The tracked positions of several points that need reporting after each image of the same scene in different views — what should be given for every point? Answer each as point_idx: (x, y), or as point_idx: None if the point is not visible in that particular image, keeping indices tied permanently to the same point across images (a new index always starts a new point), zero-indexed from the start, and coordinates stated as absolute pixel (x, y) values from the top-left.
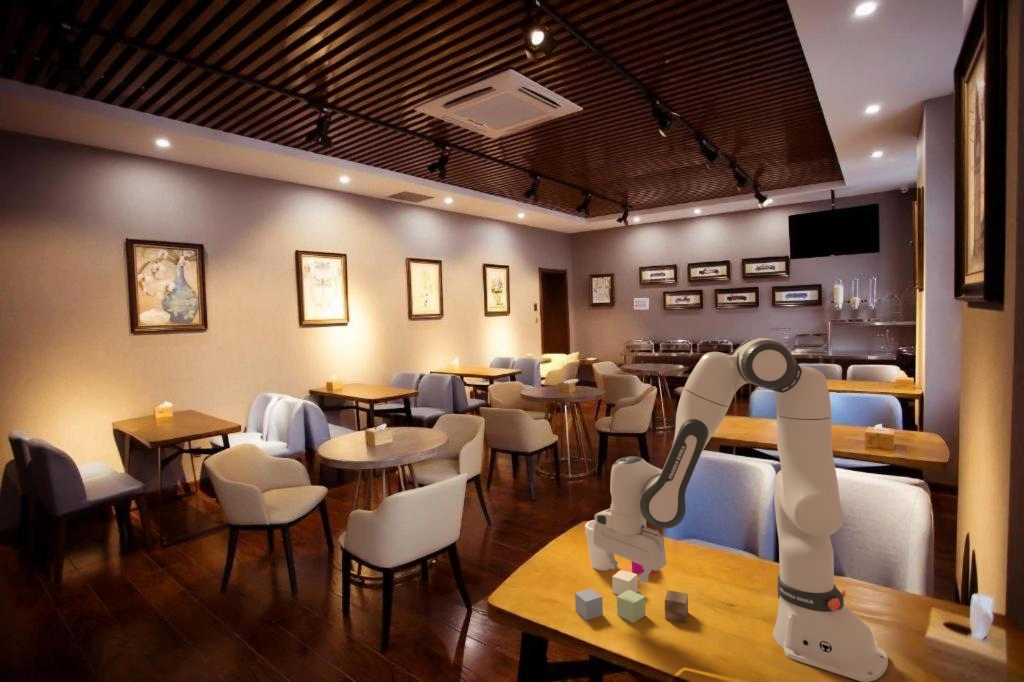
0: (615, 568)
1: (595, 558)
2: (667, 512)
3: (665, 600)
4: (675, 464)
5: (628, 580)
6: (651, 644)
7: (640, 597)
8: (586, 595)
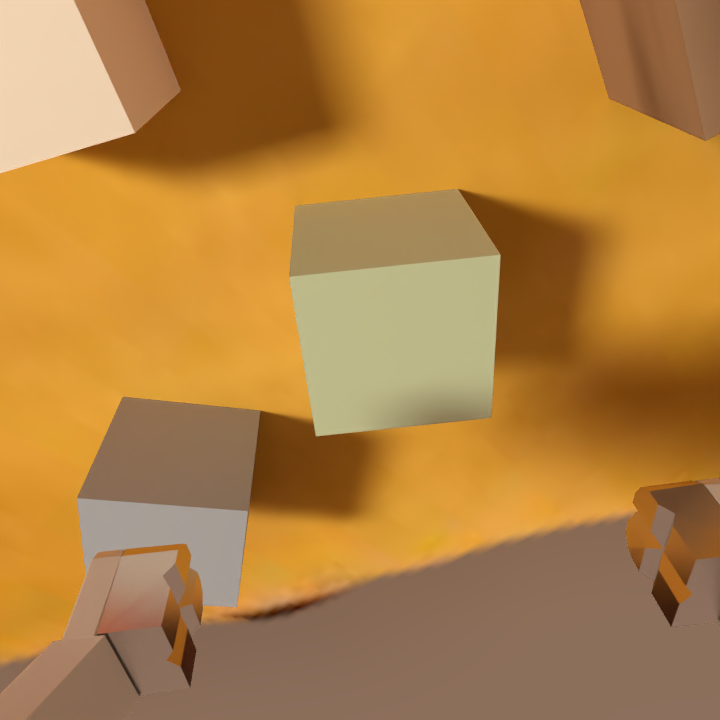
0: (185, 566)
1: None
2: None
3: (710, 134)
4: None
5: (108, 116)
6: (660, 398)
7: (479, 302)
8: None
